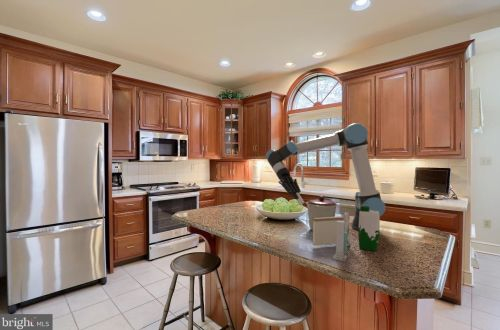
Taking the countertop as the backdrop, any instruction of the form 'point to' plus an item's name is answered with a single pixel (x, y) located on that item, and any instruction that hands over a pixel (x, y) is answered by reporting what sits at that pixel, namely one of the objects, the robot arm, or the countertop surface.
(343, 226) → the gate frame
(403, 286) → the countertop surface
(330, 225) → the gate
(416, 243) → the countertop surface
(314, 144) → the robot arm
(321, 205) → the canister
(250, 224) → the countertop surface
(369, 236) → the milk carton
